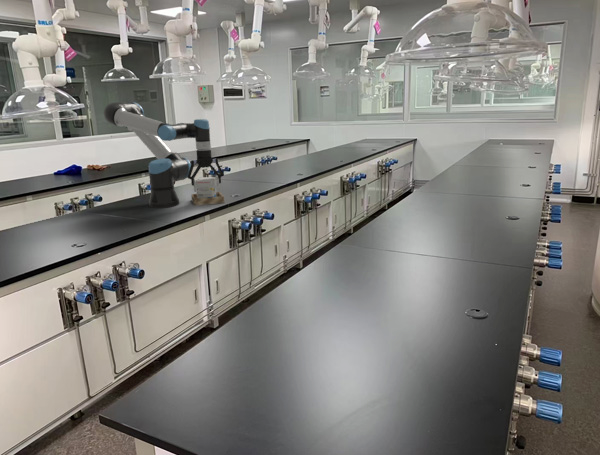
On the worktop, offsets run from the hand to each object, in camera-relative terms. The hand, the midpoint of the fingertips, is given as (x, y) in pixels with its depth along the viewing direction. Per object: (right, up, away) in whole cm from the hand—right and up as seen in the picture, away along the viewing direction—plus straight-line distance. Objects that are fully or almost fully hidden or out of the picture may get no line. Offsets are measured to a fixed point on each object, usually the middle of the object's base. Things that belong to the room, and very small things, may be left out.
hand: (206, 190), depth 240 cm
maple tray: (0, -6, +2) cm, 6 cm away
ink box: (0, -5, +1) cm, 5 cm away
